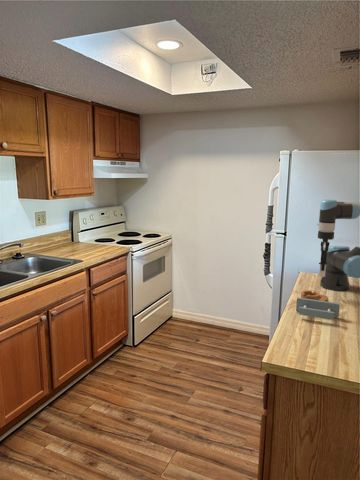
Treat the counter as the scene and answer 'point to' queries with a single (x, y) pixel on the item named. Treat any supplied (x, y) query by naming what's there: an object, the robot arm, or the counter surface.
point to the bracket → (313, 296)
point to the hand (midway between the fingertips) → (322, 276)
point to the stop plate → (317, 308)
